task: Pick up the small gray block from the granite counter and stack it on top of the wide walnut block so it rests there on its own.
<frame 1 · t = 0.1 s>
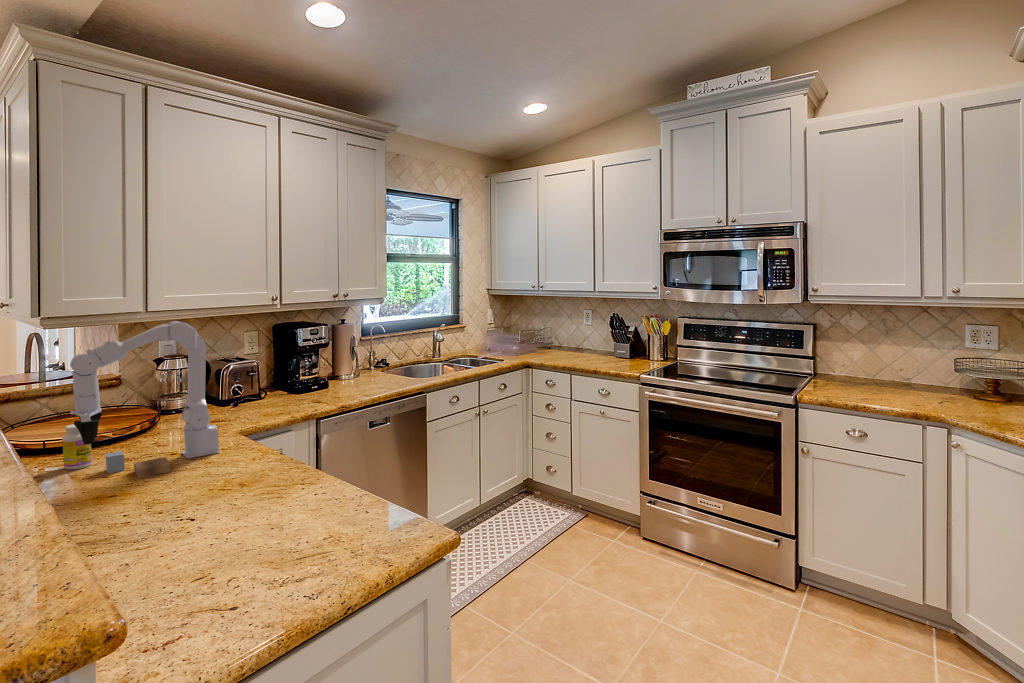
hand: (90, 440, 153), 10 cm above the worktop, fingers open, 7 cm apart
gray block: (115, 470, 157), on the worktop
walnut block: (152, 473, 156), on the worktop
supplement bottle: (78, 467, 160), on the worktop
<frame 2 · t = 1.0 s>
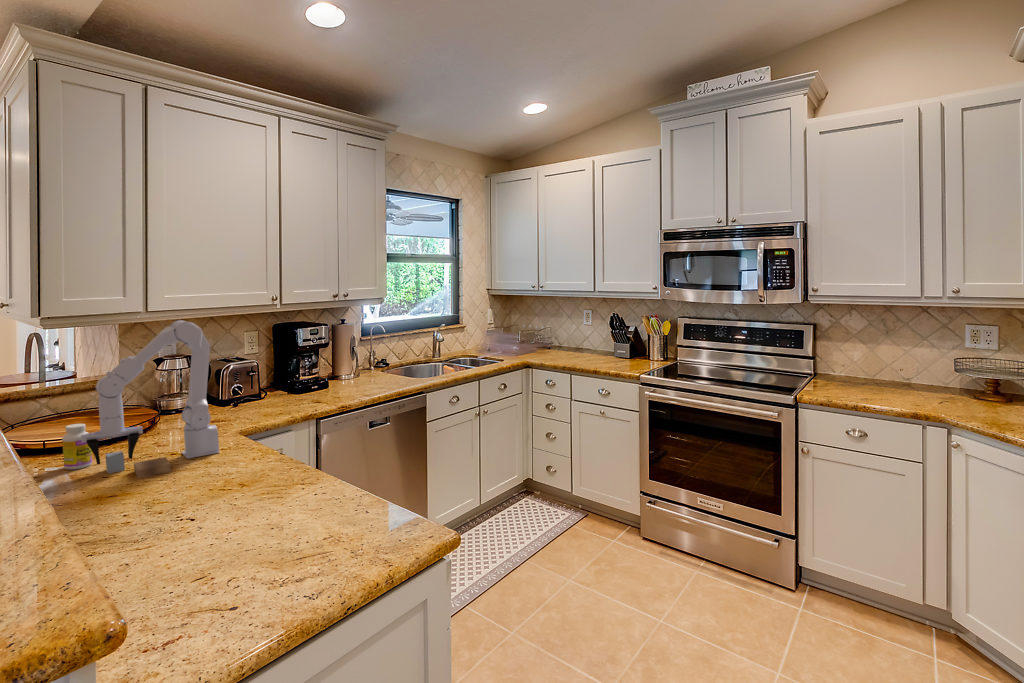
hand: (114, 460, 157), 3 cm above the worktop, fingers open, 7 cm apart
nothing on the worktop moved.
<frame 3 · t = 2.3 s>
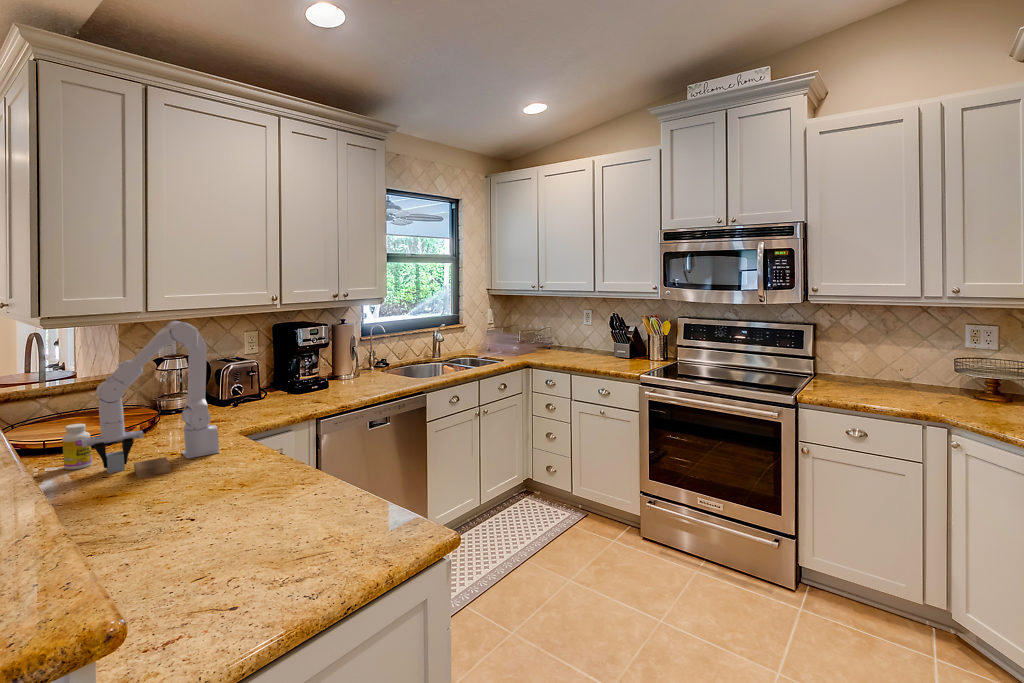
hand: (115, 465, 157), 1 cm above the worktop, fingers closed on gray block, 4 cm apart
gray block: (115, 469, 157), on the worktop, touching gripper
everything else where it was.
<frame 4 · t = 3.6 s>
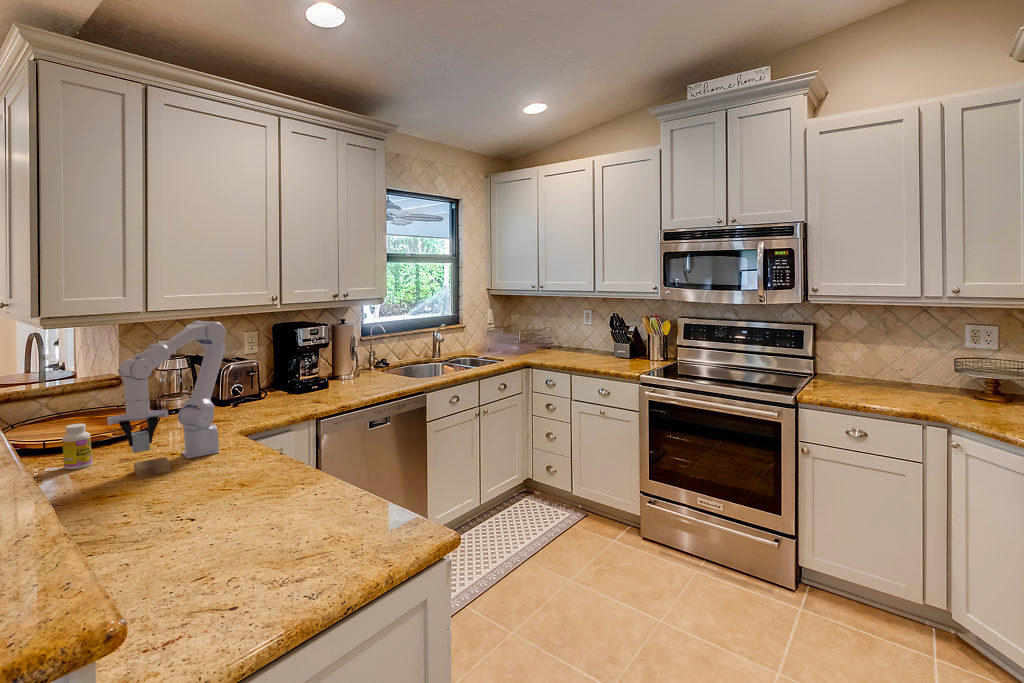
hand: (140, 444, 156), 8 cm above the worktop, fingers closed on gray block, 4 cm apart
gray block: (140, 449, 156), point 7 cm above the worktop, touching gripper
everything else where it was.
when the fingers open (5 cm above the worktop, at t = 5.2 s): gray block drops 1 cm, resting on walnut block.
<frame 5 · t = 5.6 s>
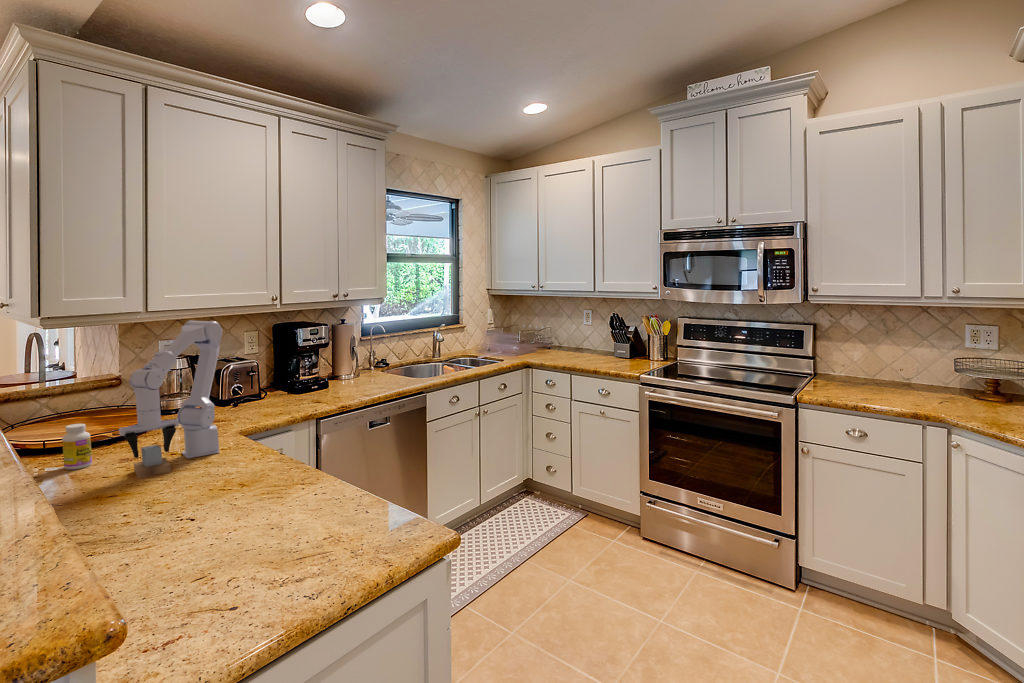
hand: (151, 454, 156), 5 cm above the worktop, fingers open, 7 cm apart
gray block: (152, 463, 156), point 2 cm above the worktop, touching walnut block
walnut block: (152, 473, 156), on the worktop, touching gray block
everything else where it was.
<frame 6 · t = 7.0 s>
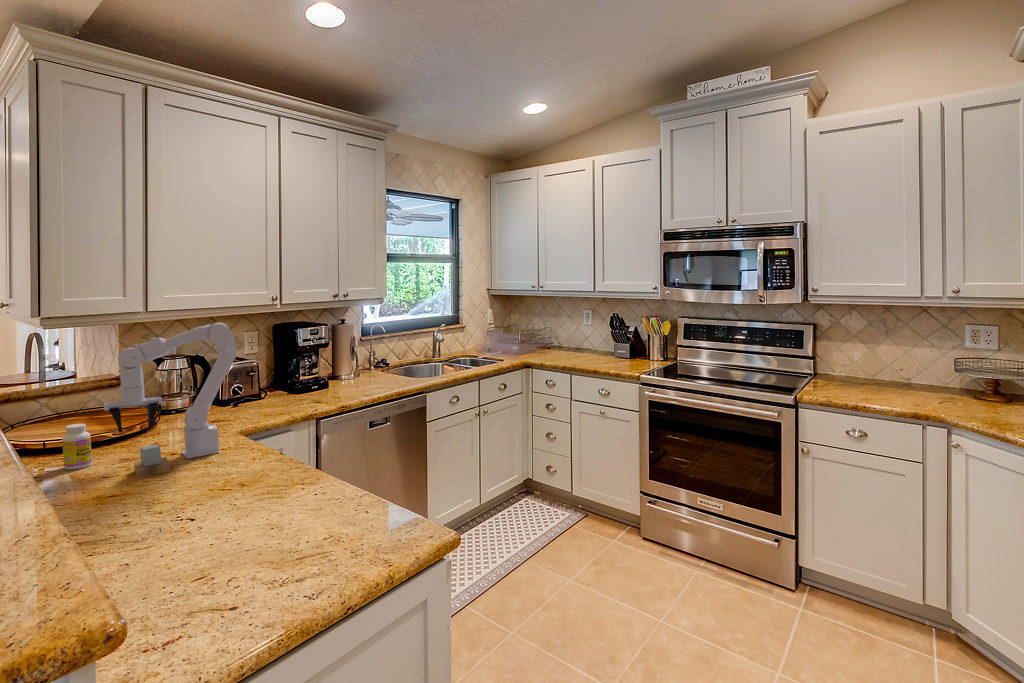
hand: (135, 429, 164), 10 cm above the worktop, fingers open, 7 cm apart
nothing on the worktop moved.
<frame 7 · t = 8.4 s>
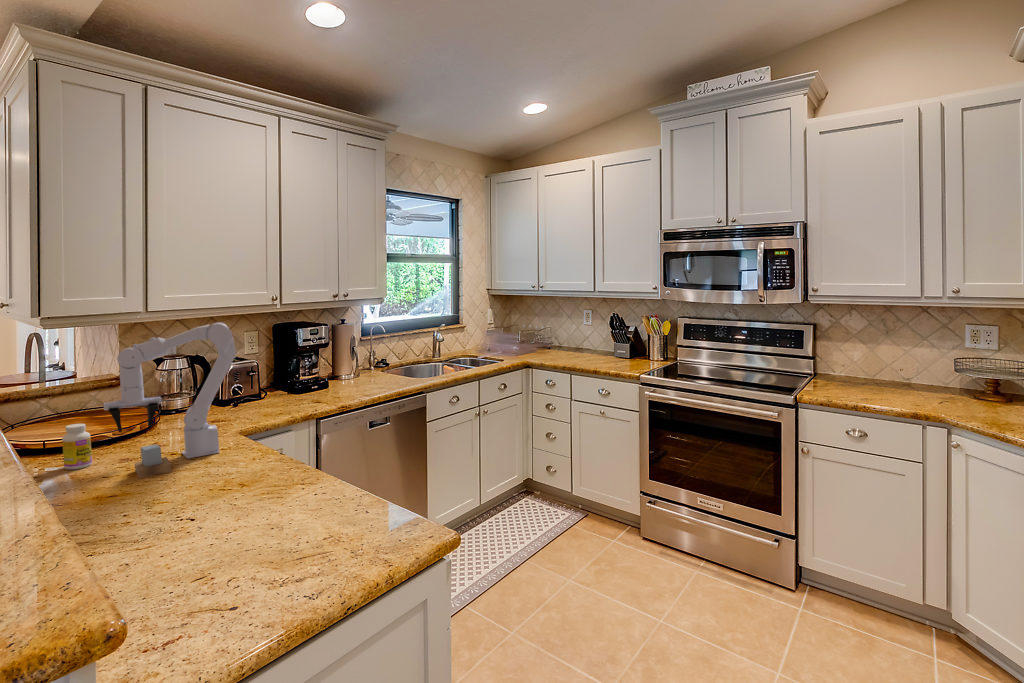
hand: (135, 429, 164), 10 cm above the worktop, fingers open, 7 cm apart
gray block: (151, 463, 156), point 3 cm above the worktop
walnut block: (153, 473, 156), on the worktop
everything else where it was.
at the end: gray block 0.3 cm off-centre on the walnut block, point 3.0 cm above the walnut block's base; gray block tilted 0°; the gripper is holding nothing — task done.
